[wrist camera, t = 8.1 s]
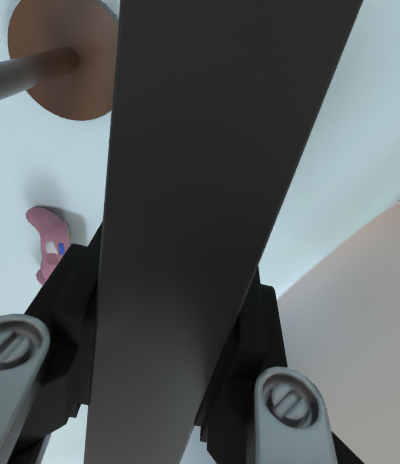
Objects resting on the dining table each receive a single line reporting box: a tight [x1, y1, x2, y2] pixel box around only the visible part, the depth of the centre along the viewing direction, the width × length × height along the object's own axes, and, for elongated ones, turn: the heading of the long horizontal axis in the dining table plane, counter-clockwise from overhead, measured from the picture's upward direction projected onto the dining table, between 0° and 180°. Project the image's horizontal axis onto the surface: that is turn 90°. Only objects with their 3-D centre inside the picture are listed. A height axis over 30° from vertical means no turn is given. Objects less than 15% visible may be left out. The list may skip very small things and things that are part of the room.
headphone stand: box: [0, 0, 119, 121], centre depth 22 cm, size 10×10×19 cm
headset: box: [84, 0, 363, 464], centre depth 14 cm, size 6×18×17 cm, turn 168°
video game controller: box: [26, 207, 71, 285], centre depth 38 cm, size 10×5×7 cm, turn 173°
